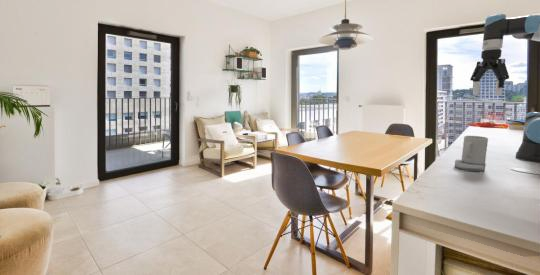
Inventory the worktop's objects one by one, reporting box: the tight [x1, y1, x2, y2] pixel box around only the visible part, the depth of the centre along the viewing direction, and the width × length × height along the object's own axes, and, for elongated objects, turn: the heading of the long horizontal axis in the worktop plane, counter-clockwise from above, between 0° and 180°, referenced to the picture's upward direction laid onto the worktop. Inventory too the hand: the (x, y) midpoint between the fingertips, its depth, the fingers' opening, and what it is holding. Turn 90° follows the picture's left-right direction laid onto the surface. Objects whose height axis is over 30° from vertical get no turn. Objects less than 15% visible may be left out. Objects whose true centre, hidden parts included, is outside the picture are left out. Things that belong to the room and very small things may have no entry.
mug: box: [461, 135, 489, 164], centre depth 123 cm, size 12×8×11 cm
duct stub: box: [454, 158, 487, 173], centre depth 125 cm, size 11×11×3 cm
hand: (486, 94), depth 138 cm, fingers open, 13 cm apart
